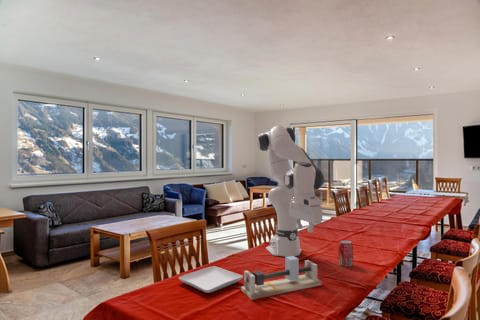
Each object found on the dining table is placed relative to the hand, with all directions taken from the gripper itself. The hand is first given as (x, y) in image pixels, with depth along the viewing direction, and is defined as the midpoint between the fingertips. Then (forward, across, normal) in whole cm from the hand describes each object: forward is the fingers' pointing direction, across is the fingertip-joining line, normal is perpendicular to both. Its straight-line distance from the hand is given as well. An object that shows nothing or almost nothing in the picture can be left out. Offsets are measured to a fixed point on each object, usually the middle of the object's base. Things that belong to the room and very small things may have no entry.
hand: (304, 230), depth 143 cm
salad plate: (+24, -18, -38) cm, 48 cm away
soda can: (+24, -10, +32) cm, 41 cm away
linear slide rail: (+23, 0, -12) cm, 26 cm away
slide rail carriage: (+20, 0, -7) cm, 21 cm away
